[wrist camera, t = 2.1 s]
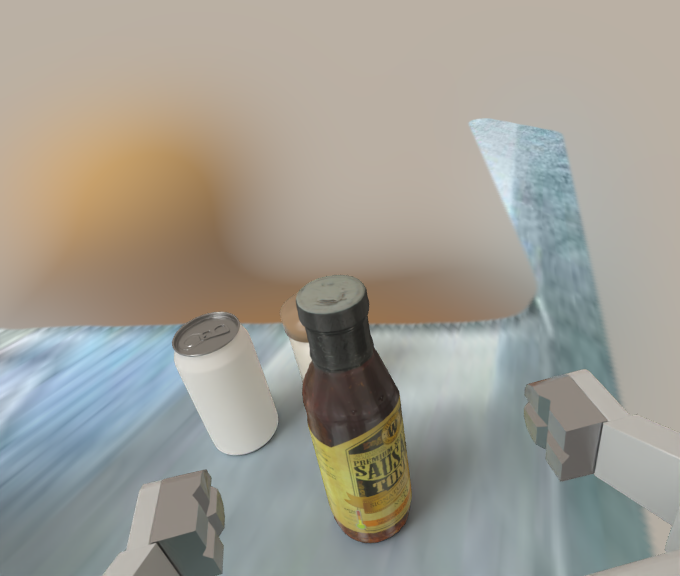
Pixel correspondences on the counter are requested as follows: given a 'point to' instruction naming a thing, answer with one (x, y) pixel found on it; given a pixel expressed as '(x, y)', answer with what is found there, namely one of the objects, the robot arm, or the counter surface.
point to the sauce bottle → (353, 412)
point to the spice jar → (296, 334)
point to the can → (225, 382)
